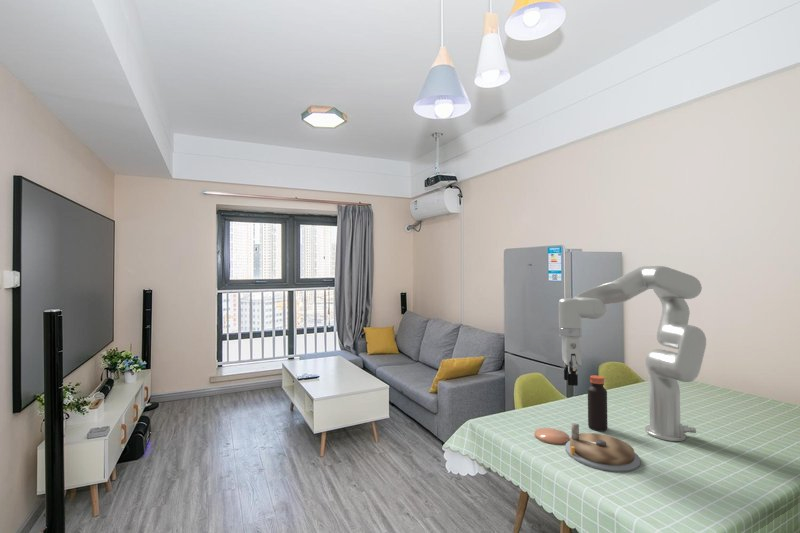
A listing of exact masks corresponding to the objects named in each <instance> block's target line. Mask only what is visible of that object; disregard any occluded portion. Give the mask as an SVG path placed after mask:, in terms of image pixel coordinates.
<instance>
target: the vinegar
mask: <svg viewBox="0 0 800 533" xmlns="http://www.w3.org/2000/svg"><path fill="white" fill-rule="evenodd" d="M589 383H590V386H589V387H587V426H588V428H589V429H591V430H593V431H597V432H605V431H607V430H608V391H607V389H606V388H605V387H604V385H605V377H604V376H601V375H590V376H589Z"/></svg>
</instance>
